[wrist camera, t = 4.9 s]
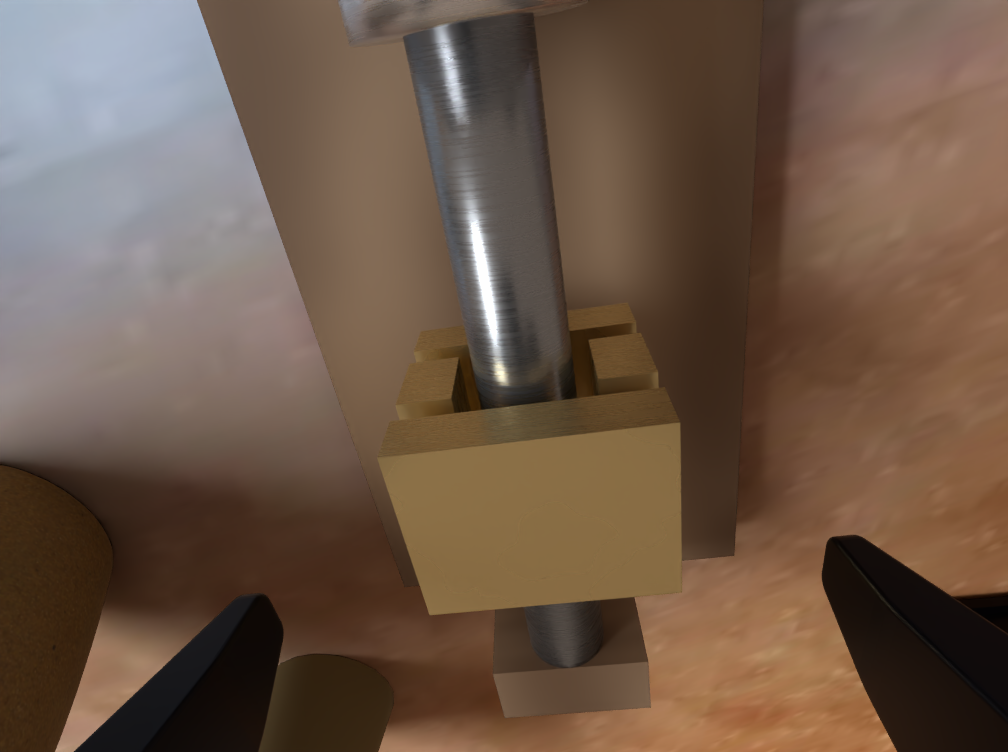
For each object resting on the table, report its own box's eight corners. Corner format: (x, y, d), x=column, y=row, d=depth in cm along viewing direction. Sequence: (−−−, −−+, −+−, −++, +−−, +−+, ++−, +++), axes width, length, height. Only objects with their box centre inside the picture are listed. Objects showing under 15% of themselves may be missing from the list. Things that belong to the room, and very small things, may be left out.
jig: (748, -252, 11) (1017, -603, 5) (721, 525, 22) (801, 711, 15) (184, -126, 12) (-132, -292, 6) (411, 556, 23) (372, 741, 17)
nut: (627, 302, 13) (680, 423, 9) (635, 439, 15) (681, 592, 11) (420, 331, 14) (376, 458, 10) (453, 461, 16) (429, 615, 12)
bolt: (609, -215, 11) (716, -518, 5) (646, 529, 20) (698, 721, 14) (299, -145, 11) (76, -348, 5) (475, 546, 20) (459, 737, 15)
